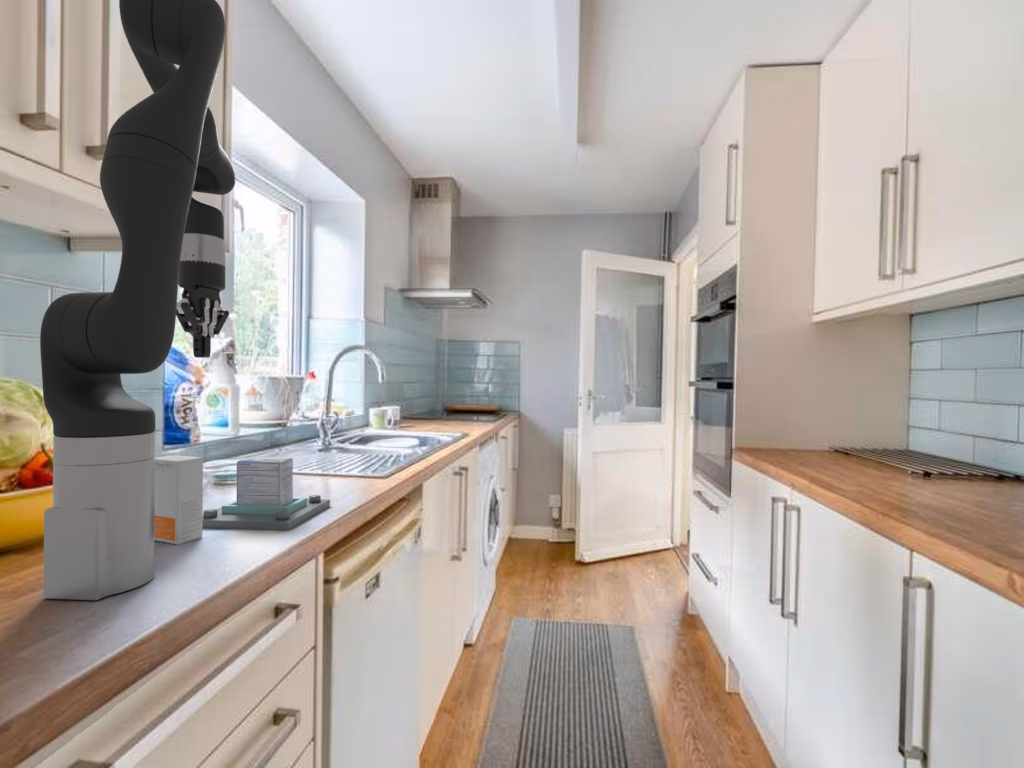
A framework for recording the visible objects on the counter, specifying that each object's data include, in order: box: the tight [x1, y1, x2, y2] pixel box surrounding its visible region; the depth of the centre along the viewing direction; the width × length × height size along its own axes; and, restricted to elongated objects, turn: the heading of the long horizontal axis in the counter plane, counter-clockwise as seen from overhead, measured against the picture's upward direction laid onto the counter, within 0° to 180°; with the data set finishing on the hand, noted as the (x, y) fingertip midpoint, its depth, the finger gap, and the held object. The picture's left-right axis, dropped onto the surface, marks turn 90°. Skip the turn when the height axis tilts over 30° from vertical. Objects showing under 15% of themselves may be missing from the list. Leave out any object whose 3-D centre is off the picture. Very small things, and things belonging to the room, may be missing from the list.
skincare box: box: [154, 454, 204, 546], centre depth 78 cm, size 6×4×12 cm
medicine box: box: [236, 456, 294, 506], centre depth 91 cm, size 8×4×9 cm, turn 87°
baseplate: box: [202, 494, 331, 531], centre depth 91 cm, size 16×16×2 cm
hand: (202, 357), depth 97 cm, fingers closed
